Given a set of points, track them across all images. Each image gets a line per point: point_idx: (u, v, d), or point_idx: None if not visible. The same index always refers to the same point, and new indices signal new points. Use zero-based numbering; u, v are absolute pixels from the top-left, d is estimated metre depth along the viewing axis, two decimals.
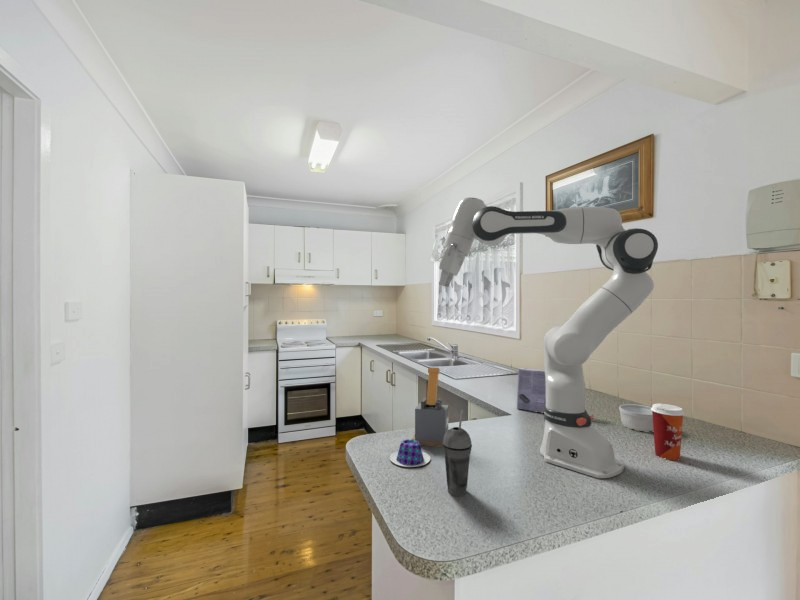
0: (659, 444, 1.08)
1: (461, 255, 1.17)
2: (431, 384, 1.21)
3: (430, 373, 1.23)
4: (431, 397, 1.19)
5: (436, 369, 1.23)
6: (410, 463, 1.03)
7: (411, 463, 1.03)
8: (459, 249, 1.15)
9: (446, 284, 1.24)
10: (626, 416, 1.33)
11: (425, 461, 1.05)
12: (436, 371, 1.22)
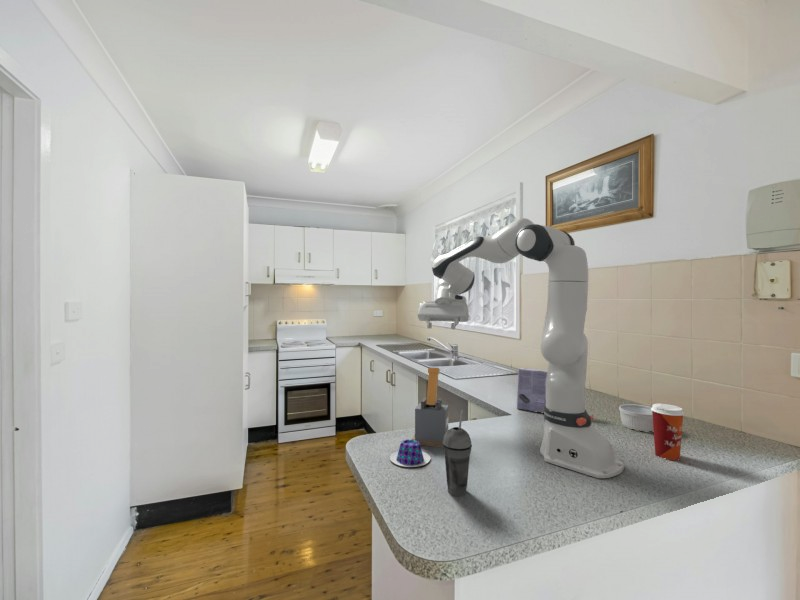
0: (659, 444, 1.08)
1: (439, 302, 1.45)
2: (431, 384, 1.21)
3: (430, 373, 1.23)
4: (431, 397, 1.19)
5: (436, 369, 1.23)
6: (410, 463, 1.03)
7: (411, 463, 1.03)
8: (434, 301, 1.47)
9: None
10: (626, 416, 1.33)
11: (425, 461, 1.05)
12: (436, 371, 1.22)
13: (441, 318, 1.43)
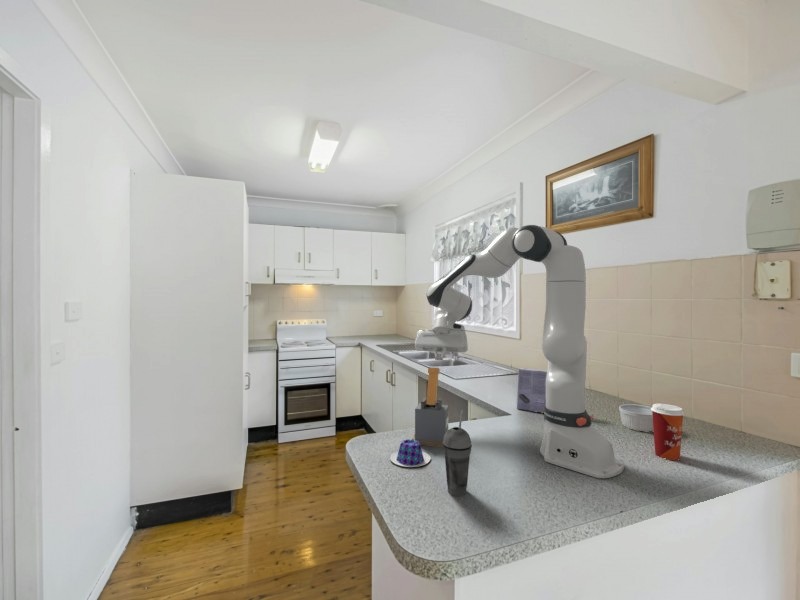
0: (659, 444, 1.08)
1: (436, 331, 1.40)
2: (431, 384, 1.21)
3: (430, 373, 1.23)
4: (431, 397, 1.19)
5: (436, 369, 1.23)
6: (410, 463, 1.03)
7: (411, 463, 1.03)
8: (431, 330, 1.42)
9: None
10: (626, 416, 1.33)
11: (425, 461, 1.05)
12: (436, 371, 1.22)
13: None
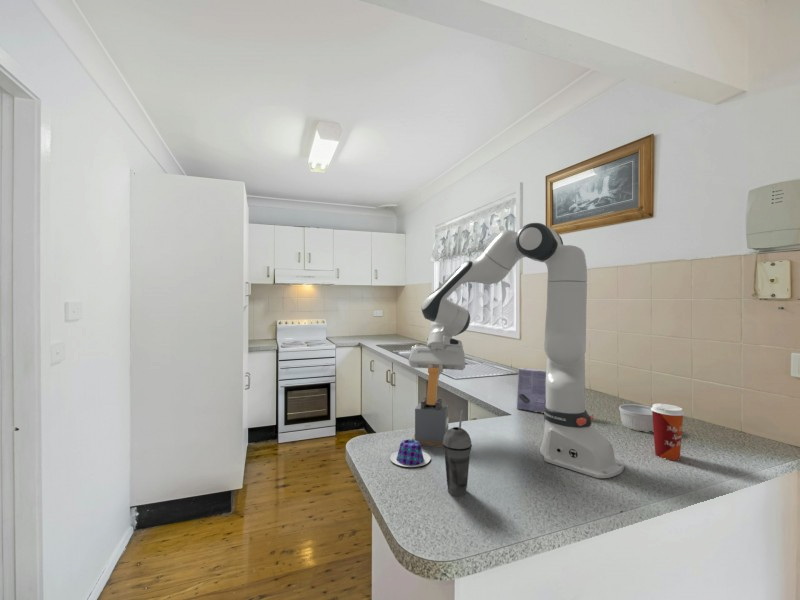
0: (659, 444, 1.08)
1: (432, 347, 1.31)
2: (431, 384, 1.21)
3: (430, 373, 1.23)
4: (431, 397, 1.19)
5: (436, 369, 1.23)
6: (409, 463, 1.03)
7: (410, 463, 1.03)
8: (427, 345, 1.33)
9: None
10: (626, 416, 1.33)
11: (425, 462, 1.05)
12: (436, 371, 1.22)
13: None
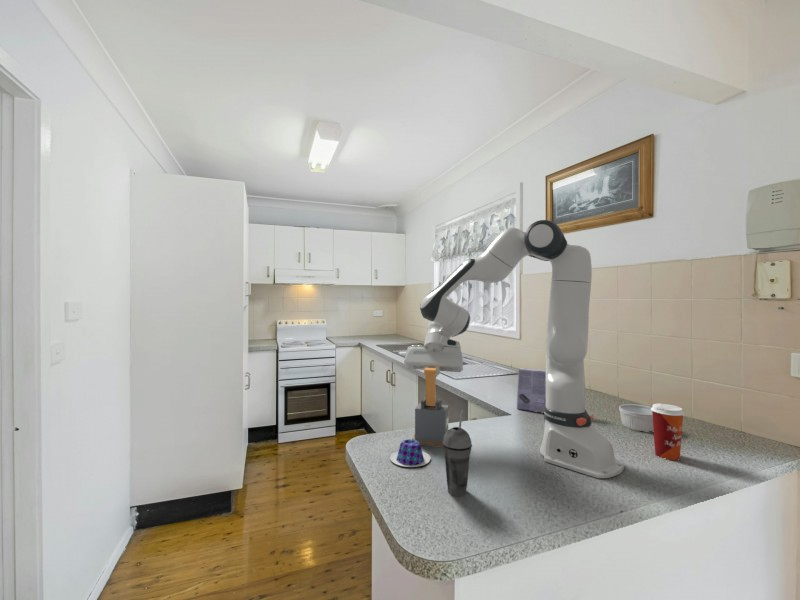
0: (659, 444, 1.08)
1: (429, 347, 1.26)
2: (429, 386, 1.18)
3: (427, 375, 1.17)
4: (430, 399, 1.18)
5: (433, 372, 1.16)
6: (409, 463, 1.03)
7: (410, 463, 1.03)
8: None
9: None
10: (626, 416, 1.33)
11: (424, 462, 1.05)
12: (433, 374, 1.16)
13: None
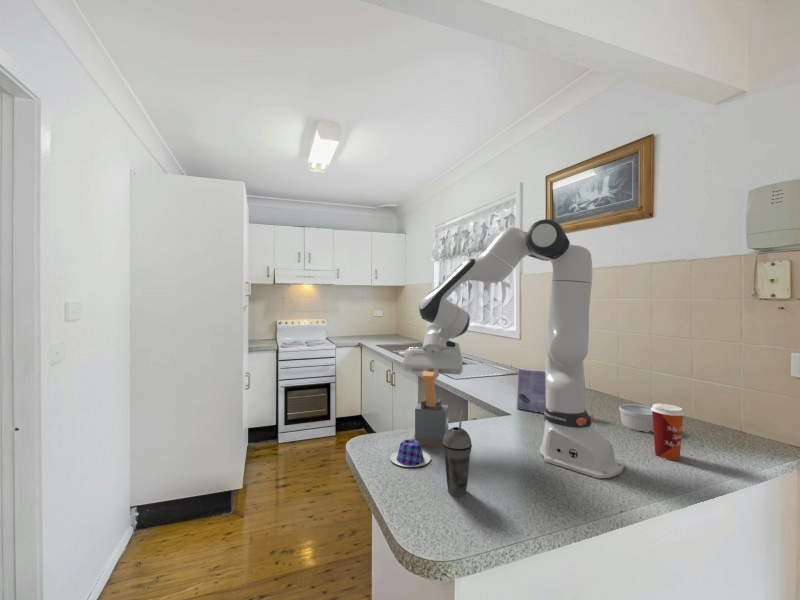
0: (659, 444, 1.08)
1: (428, 349, 1.23)
2: (428, 390, 1.16)
3: (425, 380, 1.15)
4: (429, 400, 1.18)
5: (431, 377, 1.13)
6: (408, 463, 1.03)
7: (409, 463, 1.03)
8: (422, 347, 1.26)
9: None
10: (626, 416, 1.33)
11: (424, 462, 1.04)
12: (431, 379, 1.14)
13: None
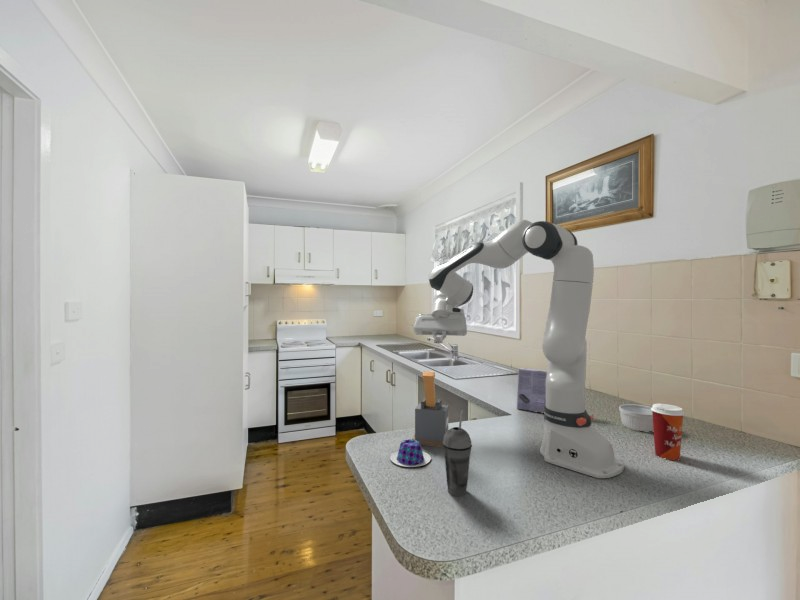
0: (659, 444, 1.08)
1: (436, 315, 1.39)
2: (428, 390, 1.16)
3: (425, 380, 1.15)
4: (429, 400, 1.18)
5: (431, 377, 1.13)
6: (407, 463, 1.03)
7: (408, 463, 1.03)
8: (431, 314, 1.41)
9: None
10: (626, 416, 1.33)
11: (424, 462, 1.04)
12: (431, 379, 1.14)
13: None
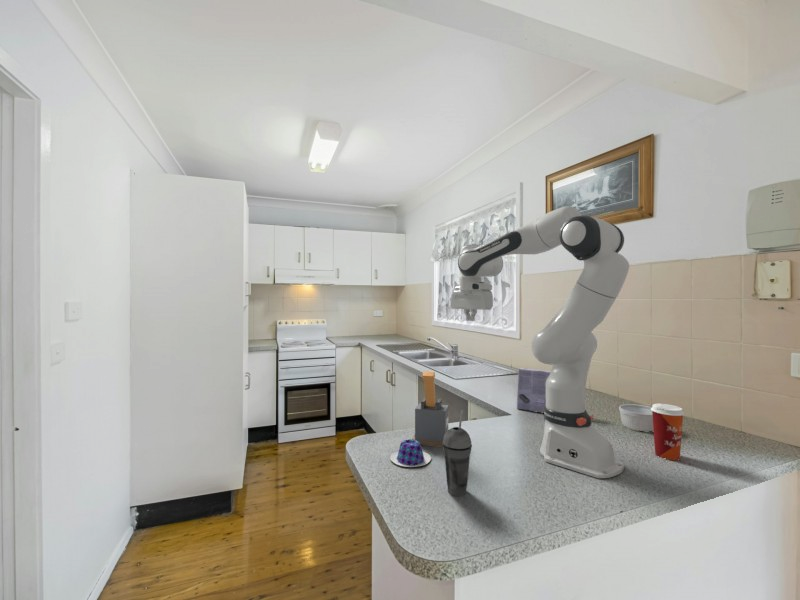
0: (659, 444, 1.08)
1: (462, 292, 1.43)
2: (428, 390, 1.16)
3: (425, 380, 1.15)
4: (429, 400, 1.18)
5: (431, 377, 1.13)
6: (407, 463, 1.03)
7: (408, 463, 1.03)
8: None
9: None
10: (626, 416, 1.33)
11: (424, 463, 1.04)
12: (431, 379, 1.14)
13: None
